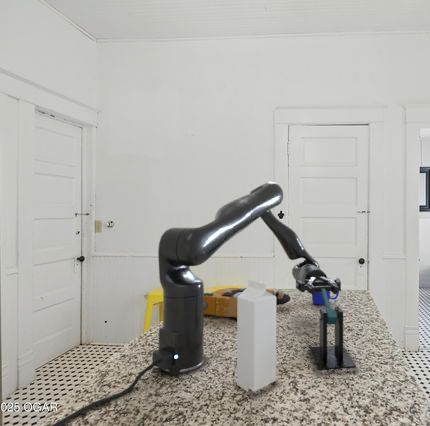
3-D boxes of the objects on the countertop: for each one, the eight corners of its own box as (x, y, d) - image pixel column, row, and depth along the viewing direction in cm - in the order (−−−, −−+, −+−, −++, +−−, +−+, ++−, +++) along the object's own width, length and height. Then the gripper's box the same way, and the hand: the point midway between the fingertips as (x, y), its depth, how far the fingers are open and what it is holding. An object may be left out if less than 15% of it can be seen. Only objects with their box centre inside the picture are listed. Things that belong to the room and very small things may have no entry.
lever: (312, 290, 88) (313, 284, 87) (331, 290, 89) (332, 283, 88) (320, 325, 76) (321, 317, 75) (342, 324, 77) (343, 316, 76)
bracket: (309, 351, 82) (309, 303, 82) (342, 349, 84) (342, 302, 84) (318, 374, 70) (318, 318, 70) (356, 371, 72) (356, 316, 72)
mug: (340, 306, 124) (340, 281, 124) (310, 306, 124) (310, 281, 124) (338, 300, 132) (338, 277, 132) (310, 300, 132) (310, 277, 132)
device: (228, 280, 133) (293, 286, 123) (228, 300, 132) (293, 307, 123) (193, 293, 111) (268, 300, 101) (193, 316, 111) (268, 326, 101)
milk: (259, 375, 70) (259, 277, 71) (276, 385, 66) (277, 281, 66) (236, 385, 66) (237, 281, 66) (253, 397, 62) (254, 286, 62)
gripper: (291, 267, 100) (298, 278, 83) (335, 266, 102) (350, 276, 86) (291, 290, 100) (298, 305, 83) (334, 289, 102) (350, 303, 85)
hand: (324, 290), depth 85 cm, fingers closed on lever, 5 cm apart
